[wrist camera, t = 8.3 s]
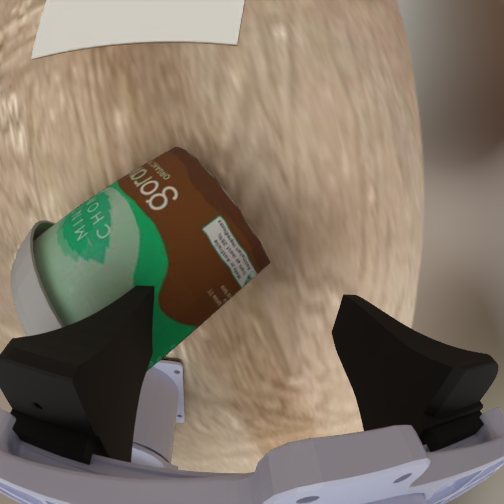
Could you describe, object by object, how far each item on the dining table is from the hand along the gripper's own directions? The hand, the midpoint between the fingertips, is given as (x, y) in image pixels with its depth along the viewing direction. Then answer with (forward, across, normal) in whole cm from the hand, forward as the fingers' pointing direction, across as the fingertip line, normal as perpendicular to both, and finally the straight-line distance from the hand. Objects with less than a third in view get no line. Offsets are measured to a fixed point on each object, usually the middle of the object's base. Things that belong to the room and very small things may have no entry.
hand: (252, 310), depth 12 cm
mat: (+10, +10, -20) cm, 24 cm away
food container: (+5, +3, -4) cm, 7 cm away
